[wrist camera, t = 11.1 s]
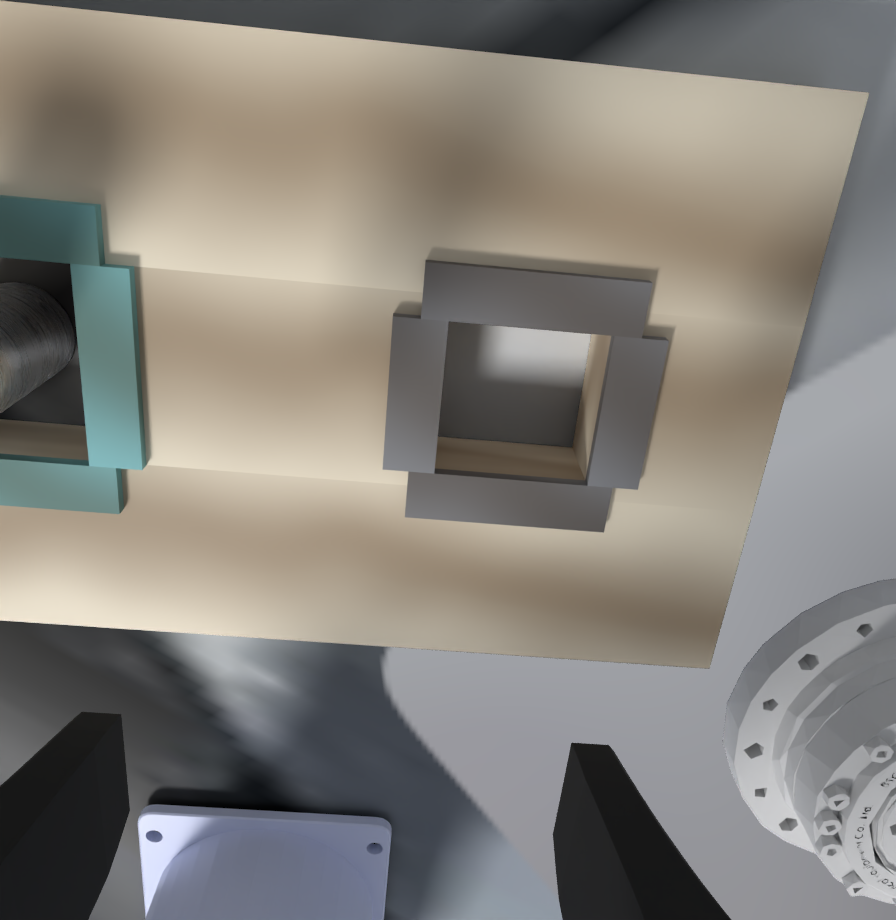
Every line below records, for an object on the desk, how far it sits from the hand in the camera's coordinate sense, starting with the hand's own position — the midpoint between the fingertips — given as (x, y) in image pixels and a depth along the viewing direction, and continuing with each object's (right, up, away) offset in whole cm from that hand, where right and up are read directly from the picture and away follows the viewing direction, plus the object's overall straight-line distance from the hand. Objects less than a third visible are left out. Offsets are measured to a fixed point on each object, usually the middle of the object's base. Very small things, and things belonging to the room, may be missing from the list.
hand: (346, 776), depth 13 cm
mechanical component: (+15, -3, +12) cm, 19 cm away
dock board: (-3, +8, +7) cm, 11 cm away
